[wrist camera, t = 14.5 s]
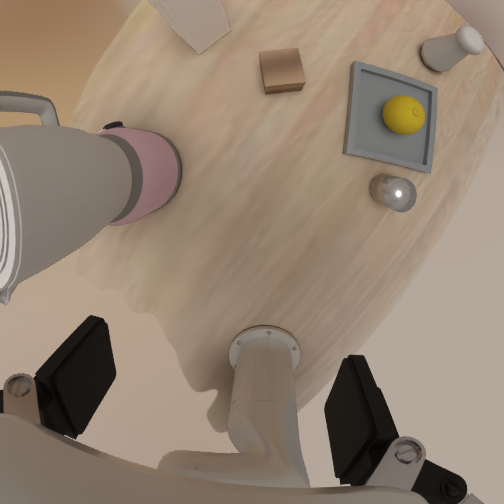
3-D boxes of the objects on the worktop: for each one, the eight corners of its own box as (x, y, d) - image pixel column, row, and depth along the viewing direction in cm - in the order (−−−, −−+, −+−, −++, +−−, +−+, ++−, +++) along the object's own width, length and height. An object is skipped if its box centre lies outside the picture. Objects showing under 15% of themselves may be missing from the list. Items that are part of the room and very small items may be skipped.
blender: (192, 200, 41) (42, 309, 11) (123, 220, 43) (-37, 321, 13) (167, 99, 37) (-6, 32, 6) (99, 128, 38) (-79, 132, 8)
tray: (424, 172, 38) (430, 173, 36) (342, 153, 38) (346, 153, 36) (431, 90, 33) (437, 87, 31) (350, 64, 34) (354, 60, 32)
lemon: (406, 102, 34) (433, 95, 26) (408, 137, 36) (435, 136, 28) (373, 97, 34) (396, 87, 27) (375, 134, 36) (398, 130, 28)
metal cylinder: (392, 205, 40) (413, 214, 33) (367, 200, 40) (384, 209, 33) (397, 177, 39) (419, 182, 32) (371, 171, 39) (390, 175, 32)
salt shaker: (424, 75, 33) (470, 57, 20) (411, 44, 31) (452, 17, 19) (449, 73, 32) (496, 58, 19) (436, 43, 30) (479, 21, 18)
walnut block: (300, 90, 36) (305, 82, 31) (265, 94, 36) (265, 86, 31) (294, 59, 34) (298, 48, 29) (259, 63, 35) (258, 52, 30)
